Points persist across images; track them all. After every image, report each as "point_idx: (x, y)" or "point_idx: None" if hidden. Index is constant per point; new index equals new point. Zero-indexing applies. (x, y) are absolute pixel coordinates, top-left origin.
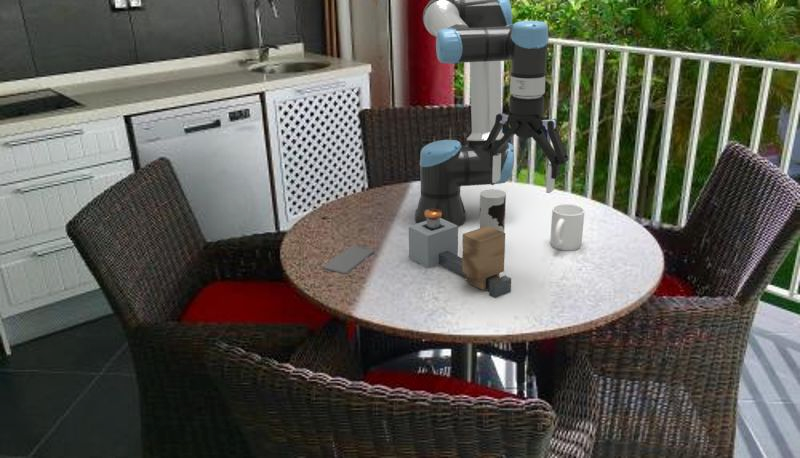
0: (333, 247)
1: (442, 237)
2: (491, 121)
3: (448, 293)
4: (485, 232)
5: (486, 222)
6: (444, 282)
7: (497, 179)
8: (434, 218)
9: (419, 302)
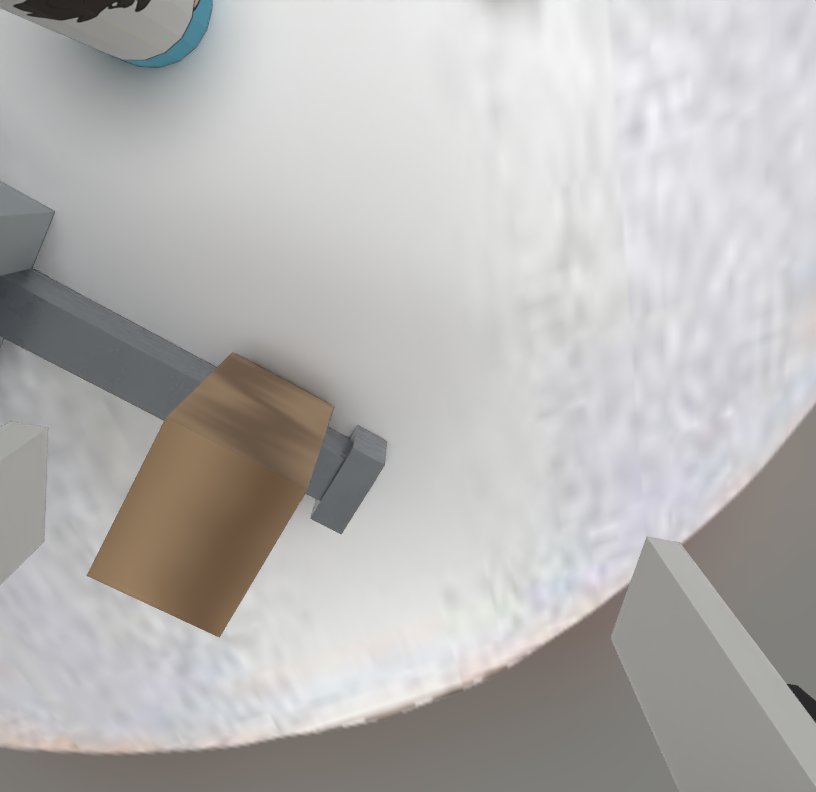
0: None
1: None
2: None
3: None
4: (195, 516)
5: (60, 32)
6: (119, 457)
7: (33, 506)
8: None
9: (111, 615)
